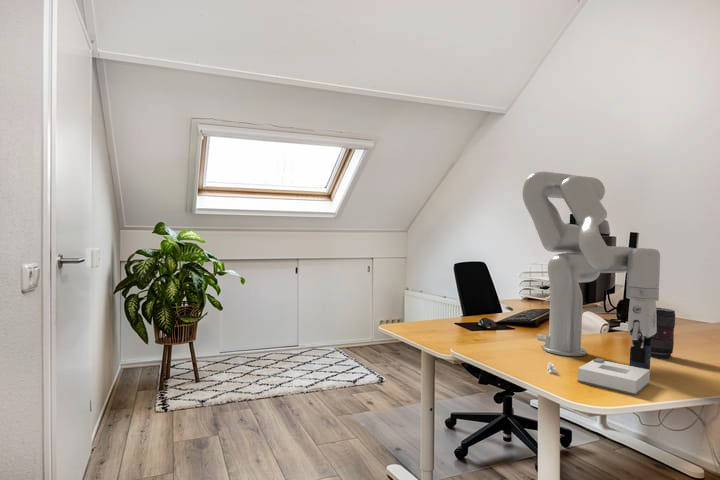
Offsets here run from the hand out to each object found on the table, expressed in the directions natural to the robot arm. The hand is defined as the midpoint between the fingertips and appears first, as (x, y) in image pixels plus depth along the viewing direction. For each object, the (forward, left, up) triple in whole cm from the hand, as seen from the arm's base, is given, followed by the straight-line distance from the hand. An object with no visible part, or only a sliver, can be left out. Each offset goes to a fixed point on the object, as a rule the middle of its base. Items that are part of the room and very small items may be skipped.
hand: (640, 360), depth 124 cm
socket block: (-3, -14, -4) cm, 15 cm away
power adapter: (-16, -17, -4) cm, 23 cm away
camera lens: (-1, +26, -4) cm, 26 cm away
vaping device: (0, 0, -4) cm, 4 cm away
